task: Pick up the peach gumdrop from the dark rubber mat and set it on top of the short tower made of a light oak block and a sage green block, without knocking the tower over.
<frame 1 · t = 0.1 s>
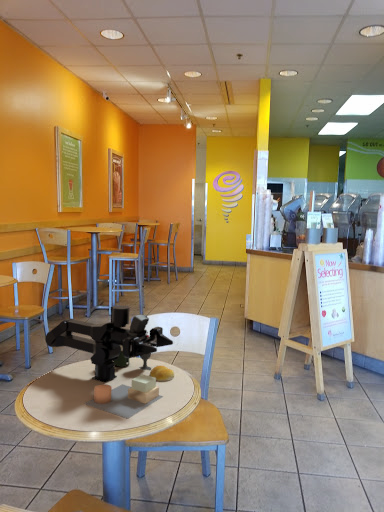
hand: (164, 346, 130), 17 cm above the table, tool horizontal, fingers open, 9 cm apart
character mug: (121, 365, 159), on the table
sundae: (145, 369, 155), on the table
mat: (124, 401, 127), on the table
bread roll: (162, 378, 148), on the table
tower base: (143, 396, 130), resting on mat, touching tower top
tower top: (143, 387, 129), point 3 cm above the table, touching tower base
peach gumdrop: (102, 400, 126), resting on mat
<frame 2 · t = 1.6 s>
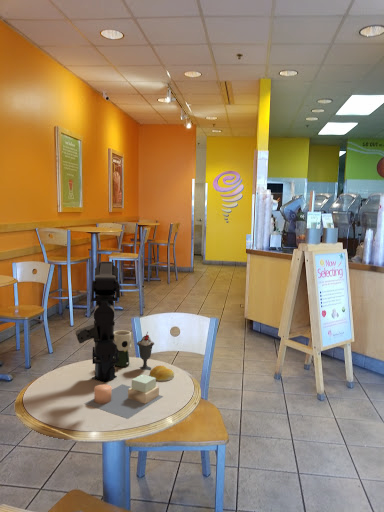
hand: (103, 367, 126), 11 cm above the table, tool pointing down, fingers open, 9 cm apart
nothing on the table moved.
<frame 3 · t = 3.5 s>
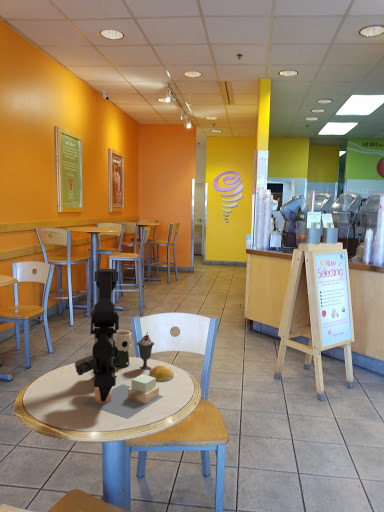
hand: (102, 397, 126), 1 cm above the table, tool pointing down, fingers closed on peach gumdrop, 5 cm apart
peach gumdrop: (102, 400, 126), resting on mat, touching gripper
everything else where it was.
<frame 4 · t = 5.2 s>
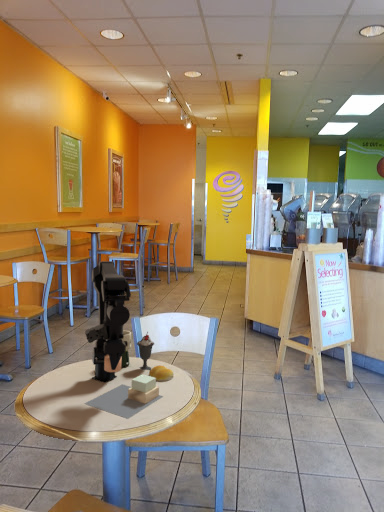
hand: (113, 366, 126), 11 cm above the table, tool pointing down, fingers closed on peach gumdrop, 5 cm apart
peach gumdrop: (112, 369, 126), point 10 cm above the table, touching gripper
everything else where it was.
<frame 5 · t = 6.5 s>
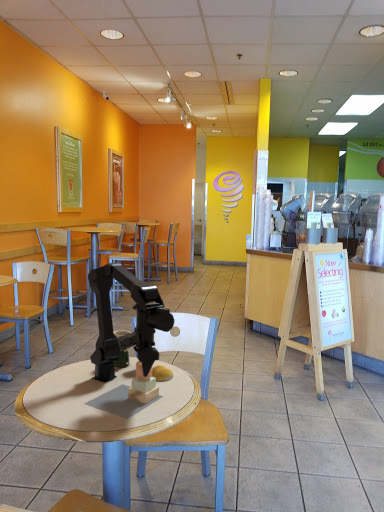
hand: (144, 373, 129), 8 cm above the table, tool pointing down, fingers closed on peach gumdrop, 5 cm apart
peach gumdrop: (143, 375, 129), point 7 cm above the table, touching gripper
everything else where it was.
when the fingers open (8 cm above the table, at t = 7.2 s): peach gumdrop stays where it is, resting on tower top.
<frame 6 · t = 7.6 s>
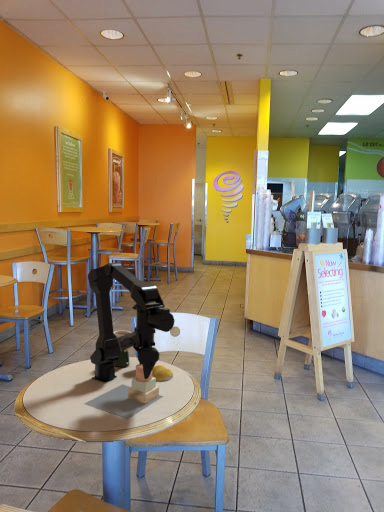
hand: (144, 373, 129), 8 cm above the table, tool pointing down, fingers open, 9 cm apart
tower top: (143, 387, 129), point 3 cm above the table, touching peach gumdrop, tower base
peach gumdrop: (143, 378, 129), point 6 cm above the table, touching tower top
everything else where it was.
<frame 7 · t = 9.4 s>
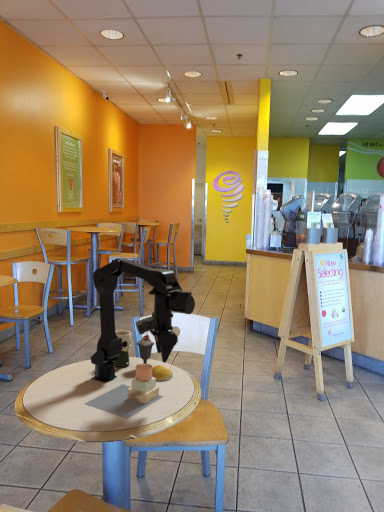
hand: (161, 357, 130), 13 cm above the table, tool pointing down, fingers open, 9 cm apart
nothing on the table moved.
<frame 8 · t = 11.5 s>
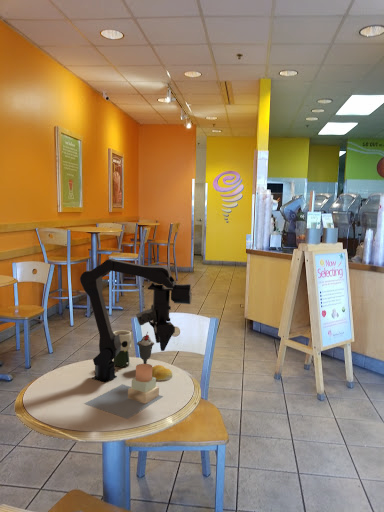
hand: (160, 346, 141), 13 cm above the table, tool pointing down, fingers open, 9 cm apart
nothing on the table moved.
at the end: peach gumdrop 0.1 cm off-centre on the tower top, point 3.0 cm above the tower top's base; tower top tilted 0°; tower base moved 0.0 cm from its start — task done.
